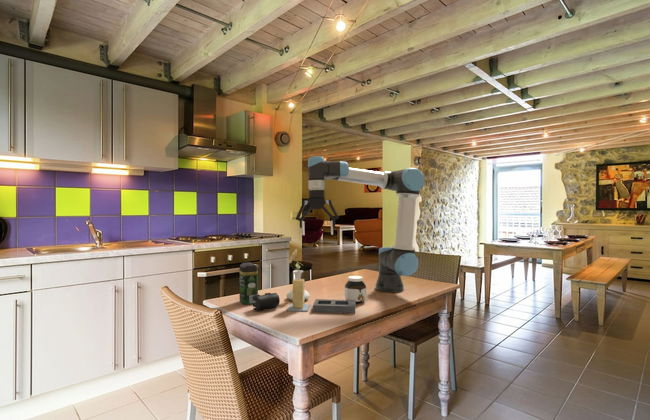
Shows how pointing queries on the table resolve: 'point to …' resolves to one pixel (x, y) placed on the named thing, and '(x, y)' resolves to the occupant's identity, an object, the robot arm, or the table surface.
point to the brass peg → (298, 293)
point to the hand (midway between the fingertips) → (317, 234)
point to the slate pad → (305, 309)
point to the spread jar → (355, 289)
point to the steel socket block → (334, 306)
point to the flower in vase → (297, 276)
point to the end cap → (266, 301)
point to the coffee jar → (248, 282)
